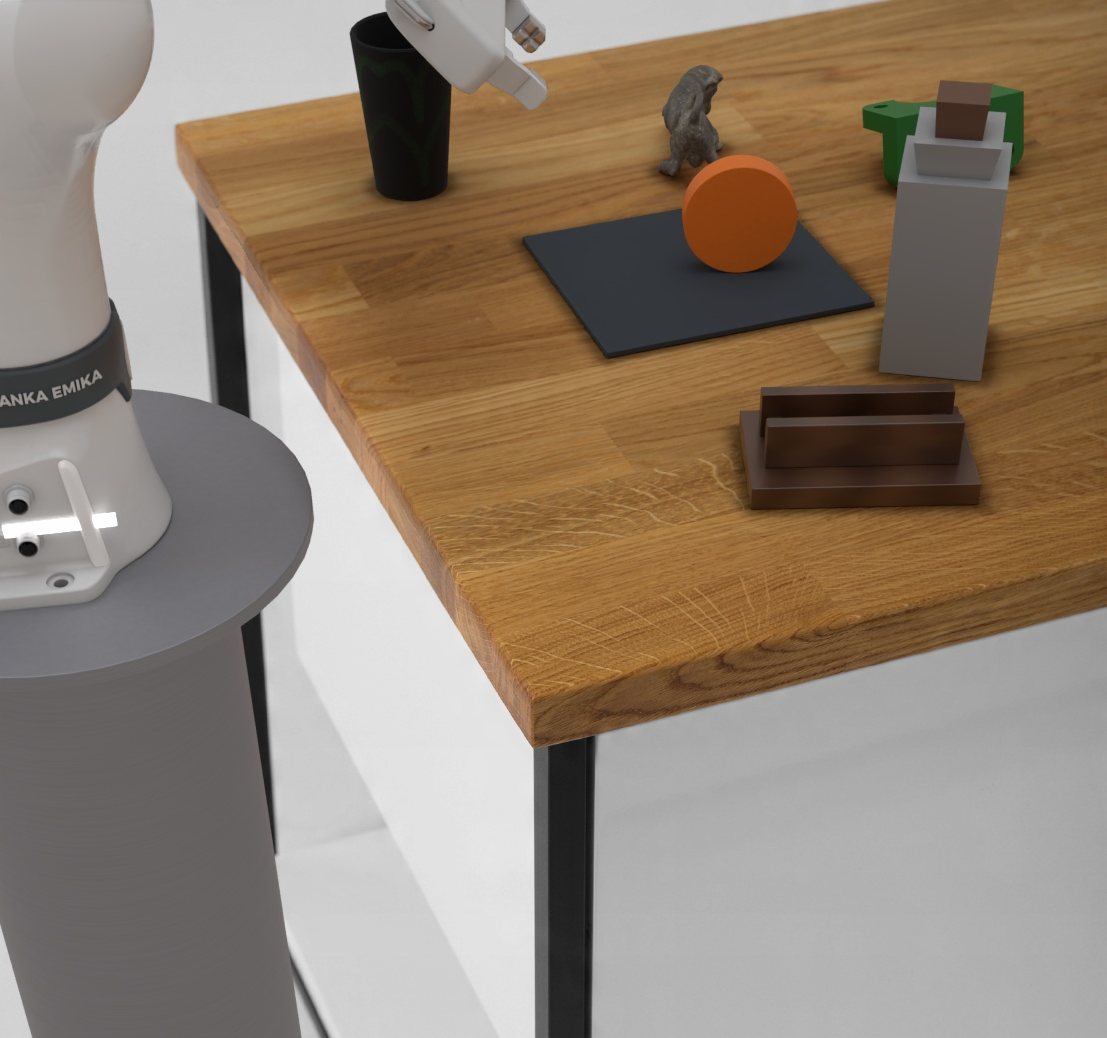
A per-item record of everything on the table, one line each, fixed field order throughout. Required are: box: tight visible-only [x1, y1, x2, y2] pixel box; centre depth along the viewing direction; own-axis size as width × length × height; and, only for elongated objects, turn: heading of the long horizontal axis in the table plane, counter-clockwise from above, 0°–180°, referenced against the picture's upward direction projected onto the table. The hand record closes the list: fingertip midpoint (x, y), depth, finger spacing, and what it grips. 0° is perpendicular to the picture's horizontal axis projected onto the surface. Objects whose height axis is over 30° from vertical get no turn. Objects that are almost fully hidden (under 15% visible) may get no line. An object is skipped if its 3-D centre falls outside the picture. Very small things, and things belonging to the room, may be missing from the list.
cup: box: [348, 11, 453, 201], centre depth 155 cm, size 8×8×12 cm
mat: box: [521, 208, 876, 359], centre depth 148 cm, size 20×18×1 cm
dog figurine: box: [657, 64, 724, 177], centre depth 159 cm, size 12×6×7 cm, turn 178°
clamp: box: [862, 83, 1025, 188], centre depth 158 cm, size 12×6×9 cm, turn 107°
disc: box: [681, 154, 798, 273], centre depth 145 cm, size 8×2×8 cm
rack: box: [738, 382, 982, 510], centre depth 128 cm, size 14×9×4 cm, turn 91°
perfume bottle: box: [878, 79, 1013, 382], centre depth 134 cm, size 7×7×18 cm
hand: (540, 70), depth 138 cm, fingers open, 8 cm apart
